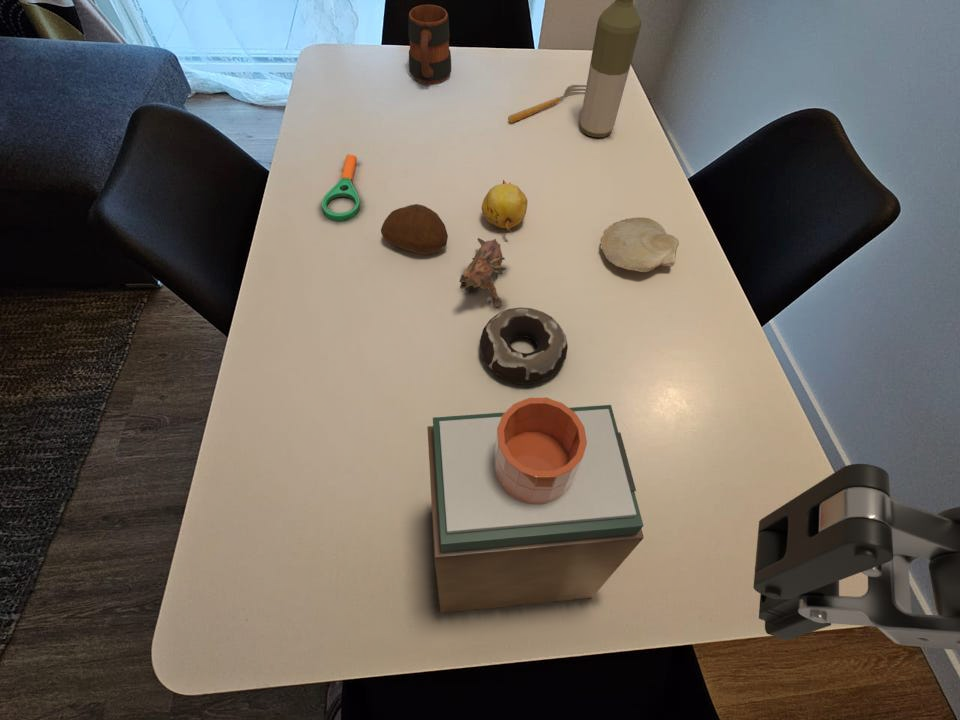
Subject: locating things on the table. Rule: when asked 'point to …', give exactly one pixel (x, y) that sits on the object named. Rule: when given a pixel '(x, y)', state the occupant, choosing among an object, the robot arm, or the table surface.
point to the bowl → (538, 450)
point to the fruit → (504, 205)
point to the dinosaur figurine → (484, 269)
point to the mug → (429, 44)
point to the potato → (415, 229)
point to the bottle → (609, 67)
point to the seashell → (639, 244)
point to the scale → (509, 522)
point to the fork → (546, 103)
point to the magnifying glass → (343, 192)
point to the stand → (522, 567)
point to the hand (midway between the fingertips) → (883, 652)
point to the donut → (523, 364)
